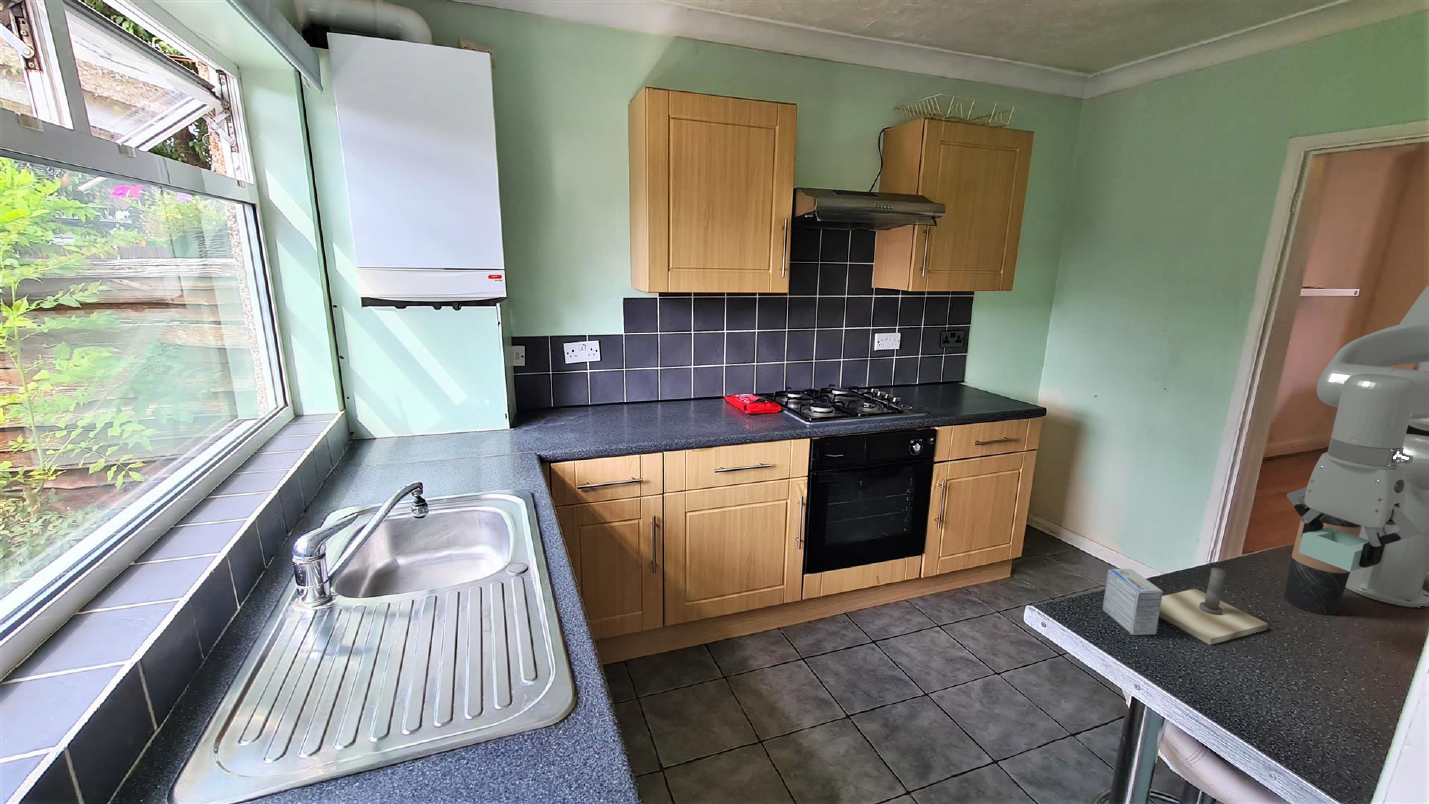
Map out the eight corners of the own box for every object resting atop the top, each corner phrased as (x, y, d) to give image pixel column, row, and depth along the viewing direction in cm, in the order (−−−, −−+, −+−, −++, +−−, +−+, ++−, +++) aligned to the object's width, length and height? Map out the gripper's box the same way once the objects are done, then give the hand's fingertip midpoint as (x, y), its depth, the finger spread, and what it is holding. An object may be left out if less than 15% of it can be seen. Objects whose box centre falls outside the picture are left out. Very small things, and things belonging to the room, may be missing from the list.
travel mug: (1351, 618, 104) (1379, 516, 100) (1301, 613, 106) (1326, 513, 101) (1317, 595, 111) (1342, 499, 107) (1271, 591, 113) (1293, 496, 108)
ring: (1324, 545, 99) (1329, 527, 98) (1376, 564, 93) (1382, 544, 92) (1298, 552, 97) (1302, 533, 96) (1349, 571, 91) (1355, 551, 90)
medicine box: (1156, 635, 100) (1164, 591, 98) (1131, 636, 100) (1139, 591, 98) (1124, 609, 108) (1131, 567, 106) (1101, 609, 108) (1107, 568, 106)
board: (1194, 593, 112) (1202, 551, 110) (1266, 629, 101) (1277, 582, 99) (1140, 606, 108) (1148, 562, 106) (1209, 644, 97) (1220, 596, 95)
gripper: (1459, 467, 83) (1427, 577, 88) (1310, 434, 99) (1289, 528, 104) (1427, 474, 81) (1396, 586, 86) (1280, 440, 97) (1260, 535, 102)
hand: (1337, 553), depth 95 cm, fingers closed on ring, 6 cm apart
